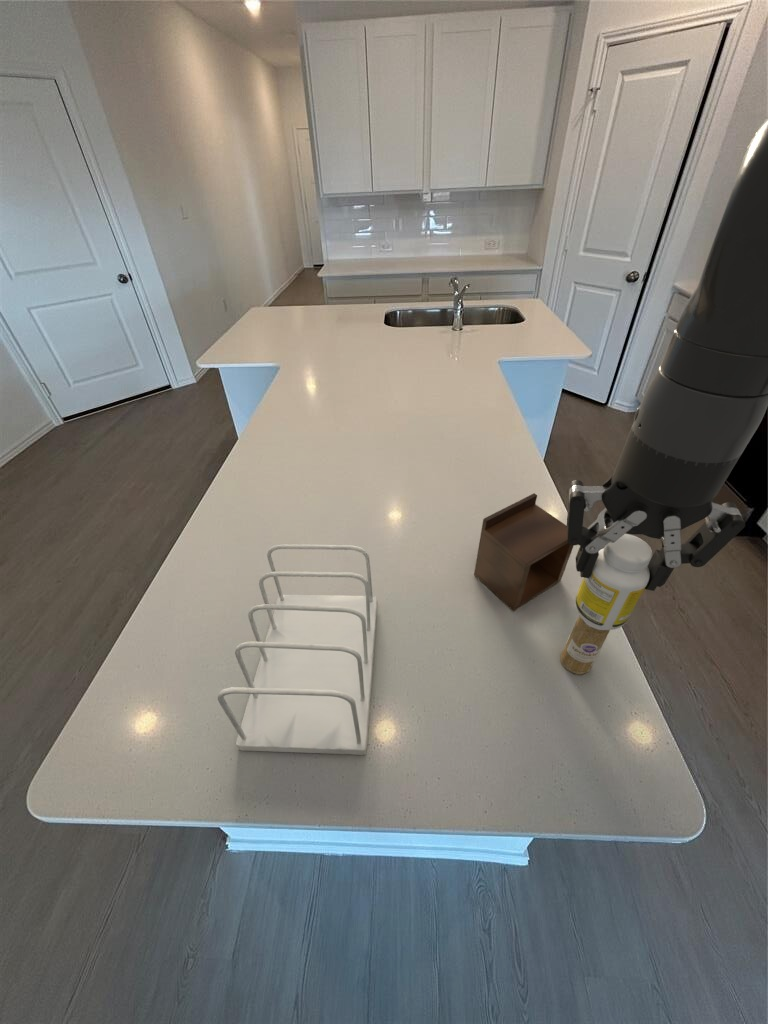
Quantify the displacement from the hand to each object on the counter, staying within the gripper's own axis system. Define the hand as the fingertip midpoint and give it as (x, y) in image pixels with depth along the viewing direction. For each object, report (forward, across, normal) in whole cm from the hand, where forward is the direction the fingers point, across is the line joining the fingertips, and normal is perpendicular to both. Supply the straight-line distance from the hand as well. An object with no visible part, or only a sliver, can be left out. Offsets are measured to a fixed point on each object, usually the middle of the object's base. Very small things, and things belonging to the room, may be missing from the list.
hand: (615, 577), depth 45 cm
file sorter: (+28, -35, -3) cm, 45 cm away
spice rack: (+28, -6, +23) cm, 36 cm away
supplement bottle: (+6, 0, 0) cm, 6 cm away
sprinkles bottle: (+28, +3, +8) cm, 29 cm away
